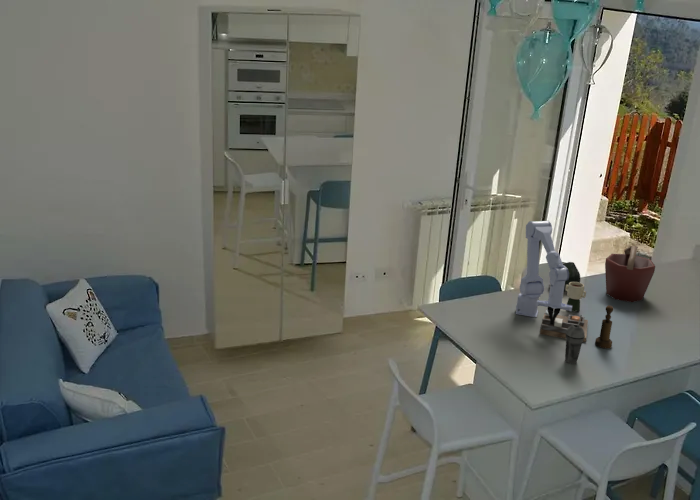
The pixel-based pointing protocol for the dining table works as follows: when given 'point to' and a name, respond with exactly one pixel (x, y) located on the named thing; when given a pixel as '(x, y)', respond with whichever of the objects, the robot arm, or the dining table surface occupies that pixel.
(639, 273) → the bucket
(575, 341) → the beverage cup
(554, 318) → the robot arm
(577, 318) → the push button
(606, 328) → the brown chess piece
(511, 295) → the dining table surface
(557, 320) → the slider knob
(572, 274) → the squash
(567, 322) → the panel
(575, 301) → the character mug
